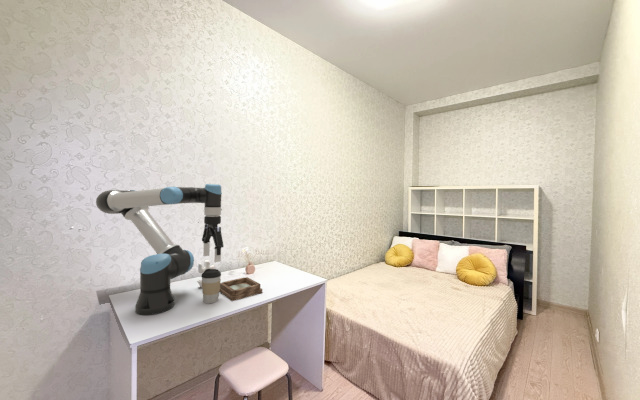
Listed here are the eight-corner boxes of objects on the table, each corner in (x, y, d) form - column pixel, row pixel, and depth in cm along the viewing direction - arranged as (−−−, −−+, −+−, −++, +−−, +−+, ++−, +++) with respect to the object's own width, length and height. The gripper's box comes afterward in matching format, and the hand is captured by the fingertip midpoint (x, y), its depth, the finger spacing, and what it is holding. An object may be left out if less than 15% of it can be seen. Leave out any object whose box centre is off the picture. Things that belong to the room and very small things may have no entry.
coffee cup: (224, 299, 131) (225, 269, 130) (208, 306, 123) (208, 274, 123) (213, 295, 136) (213, 266, 135) (196, 301, 128) (197, 270, 127)
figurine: (217, 286, 148) (218, 260, 148) (202, 291, 141) (202, 263, 140) (210, 283, 152) (211, 257, 152) (194, 287, 145) (195, 261, 144)
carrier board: (232, 301, 129) (232, 292, 129) (218, 291, 141) (218, 282, 141) (262, 292, 141) (262, 284, 141) (246, 284, 153) (246, 276, 153)
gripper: (231, 217, 122) (230, 263, 123) (210, 213, 140) (209, 252, 140) (215, 218, 117) (214, 265, 117) (195, 213, 134) (194, 254, 135)
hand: (211, 258), depth 129 cm, fingers open, 13 cm apart
